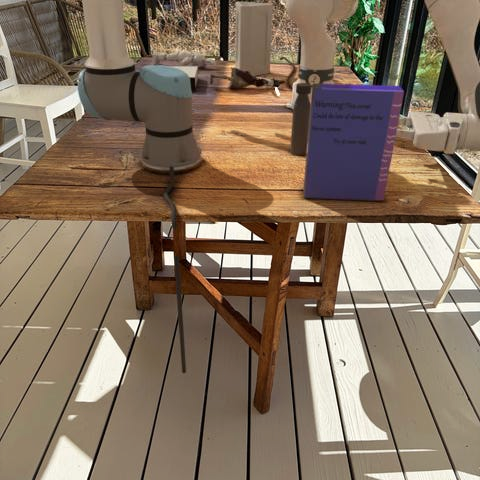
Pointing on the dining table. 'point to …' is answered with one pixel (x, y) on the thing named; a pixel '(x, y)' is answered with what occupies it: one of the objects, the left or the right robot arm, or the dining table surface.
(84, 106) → the left robot arm
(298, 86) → the cap
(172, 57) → the toy
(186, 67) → the disc drive
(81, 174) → the dining table surface
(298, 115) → the bottle
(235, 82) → the figurine
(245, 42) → the paper bag
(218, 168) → the dining table surface
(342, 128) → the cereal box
